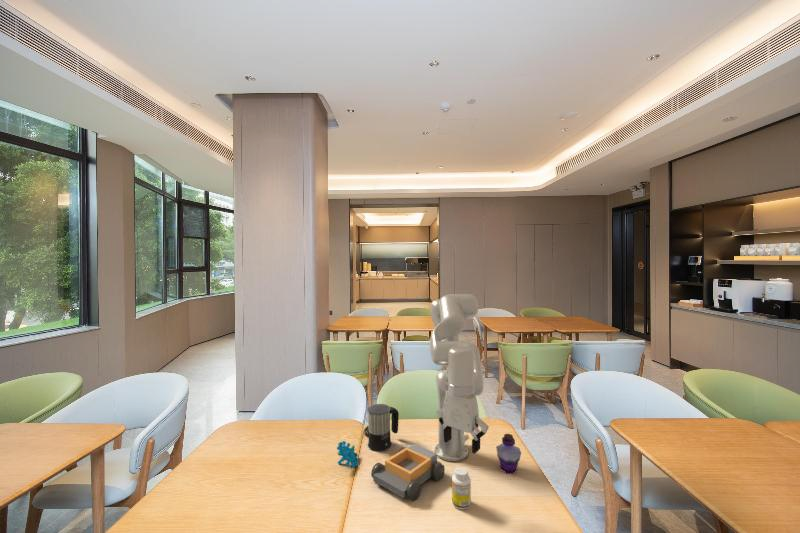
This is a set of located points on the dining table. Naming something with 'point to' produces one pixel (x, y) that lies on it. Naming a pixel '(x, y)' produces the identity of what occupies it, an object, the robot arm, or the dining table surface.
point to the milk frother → (381, 426)
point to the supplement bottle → (461, 488)
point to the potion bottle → (508, 454)
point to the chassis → (408, 471)
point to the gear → (347, 454)
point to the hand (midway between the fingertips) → (461, 445)
